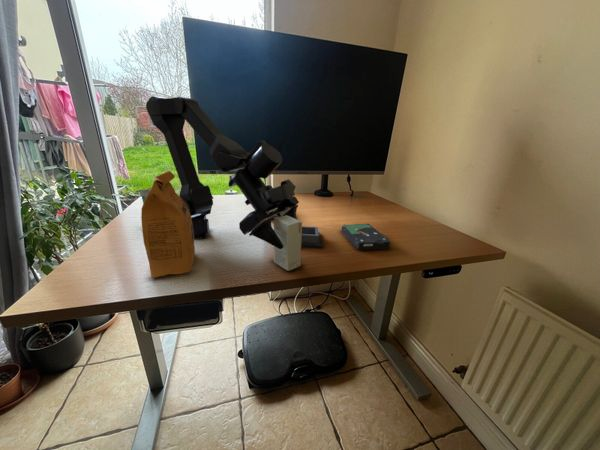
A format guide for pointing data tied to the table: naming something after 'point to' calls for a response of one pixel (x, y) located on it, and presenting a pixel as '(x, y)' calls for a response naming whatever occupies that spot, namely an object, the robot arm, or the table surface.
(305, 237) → the dock pad
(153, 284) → the table surface
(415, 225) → the table surface
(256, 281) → the table surface
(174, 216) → the coffee package
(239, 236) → the table surface
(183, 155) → the robot arm
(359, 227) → the disk drive
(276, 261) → the cosmetic box
